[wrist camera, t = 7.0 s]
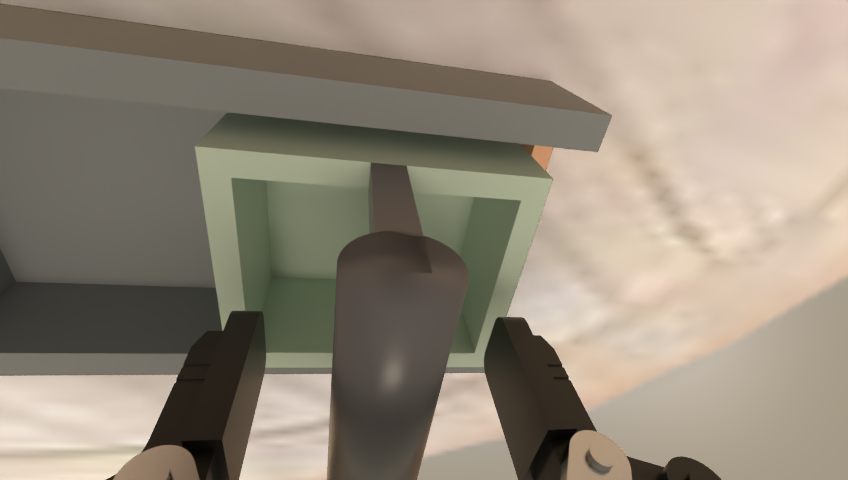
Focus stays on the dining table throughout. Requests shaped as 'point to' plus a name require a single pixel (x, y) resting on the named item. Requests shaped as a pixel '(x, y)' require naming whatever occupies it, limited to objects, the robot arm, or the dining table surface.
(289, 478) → the dining table surface
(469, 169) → the box
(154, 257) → the bay
